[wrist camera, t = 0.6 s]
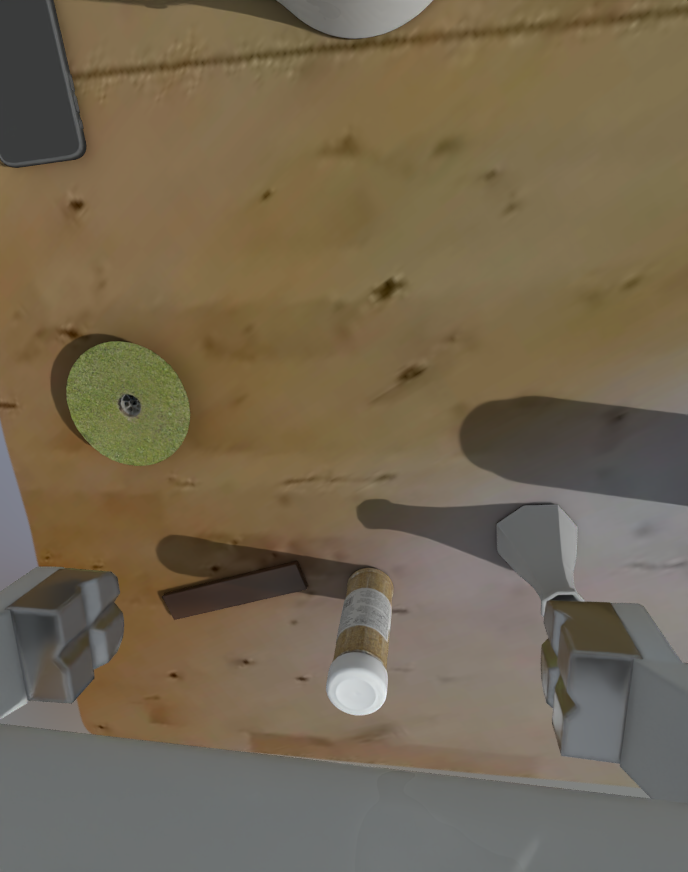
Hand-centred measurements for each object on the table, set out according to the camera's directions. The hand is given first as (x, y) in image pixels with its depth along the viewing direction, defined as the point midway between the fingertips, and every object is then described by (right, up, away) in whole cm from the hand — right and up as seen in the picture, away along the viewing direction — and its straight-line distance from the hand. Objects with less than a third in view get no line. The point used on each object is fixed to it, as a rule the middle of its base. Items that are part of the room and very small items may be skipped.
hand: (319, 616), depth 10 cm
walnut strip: (-11, -12, +45) cm, 48 cm away
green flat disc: (-18, +7, +39) cm, 44 cm away
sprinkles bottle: (+3, -11, +43) cm, 44 cm away
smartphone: (-23, +32, +30) cm, 50 cm away
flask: (+18, -6, +39) cm, 43 cm away
